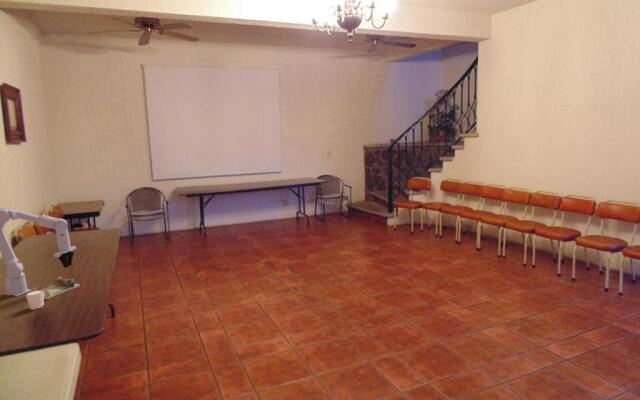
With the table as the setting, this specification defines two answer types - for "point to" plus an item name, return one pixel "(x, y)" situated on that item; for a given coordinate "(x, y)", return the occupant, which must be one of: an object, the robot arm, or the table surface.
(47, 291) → the seat
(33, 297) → the shot glass
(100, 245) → the table surface
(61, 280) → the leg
